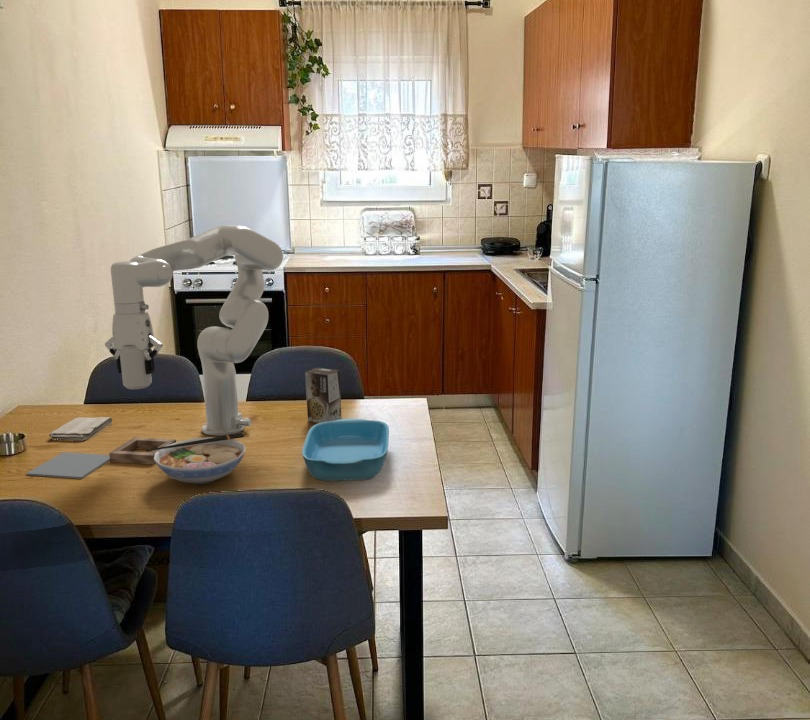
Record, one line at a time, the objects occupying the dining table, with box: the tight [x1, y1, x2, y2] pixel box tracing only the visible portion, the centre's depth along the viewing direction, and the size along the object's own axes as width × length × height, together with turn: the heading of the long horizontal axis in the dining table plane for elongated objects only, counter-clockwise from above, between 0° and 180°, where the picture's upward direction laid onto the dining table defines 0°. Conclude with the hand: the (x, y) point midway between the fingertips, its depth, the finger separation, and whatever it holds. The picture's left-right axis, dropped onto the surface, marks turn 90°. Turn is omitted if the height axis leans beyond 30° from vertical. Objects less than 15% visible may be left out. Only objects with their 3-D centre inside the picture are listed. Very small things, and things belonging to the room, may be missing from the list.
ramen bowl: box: [145, 432, 246, 485], centre depth 203 cm, size 25×23×8 cm
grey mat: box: [26, 451, 110, 480], centre depth 215 cm, size 16×16×1 cm
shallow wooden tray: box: [108, 436, 177, 465], centre depth 222 cm, size 13×13×2 cm
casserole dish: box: [301, 418, 390, 482], centre depth 214 cm, size 37×22×7 cm, turn 1°
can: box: [119, 346, 153, 390], centre depth 216 cm, size 8×8×12 cm
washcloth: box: [48, 416, 113, 442], centre depth 243 cm, size 12×18×3 cm, turn 175°
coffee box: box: [304, 367, 343, 423], centre depth 248 cm, size 9×6×16 cm
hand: (136, 372), depth 217 cm, fingers closed on can, 7 cm apart
